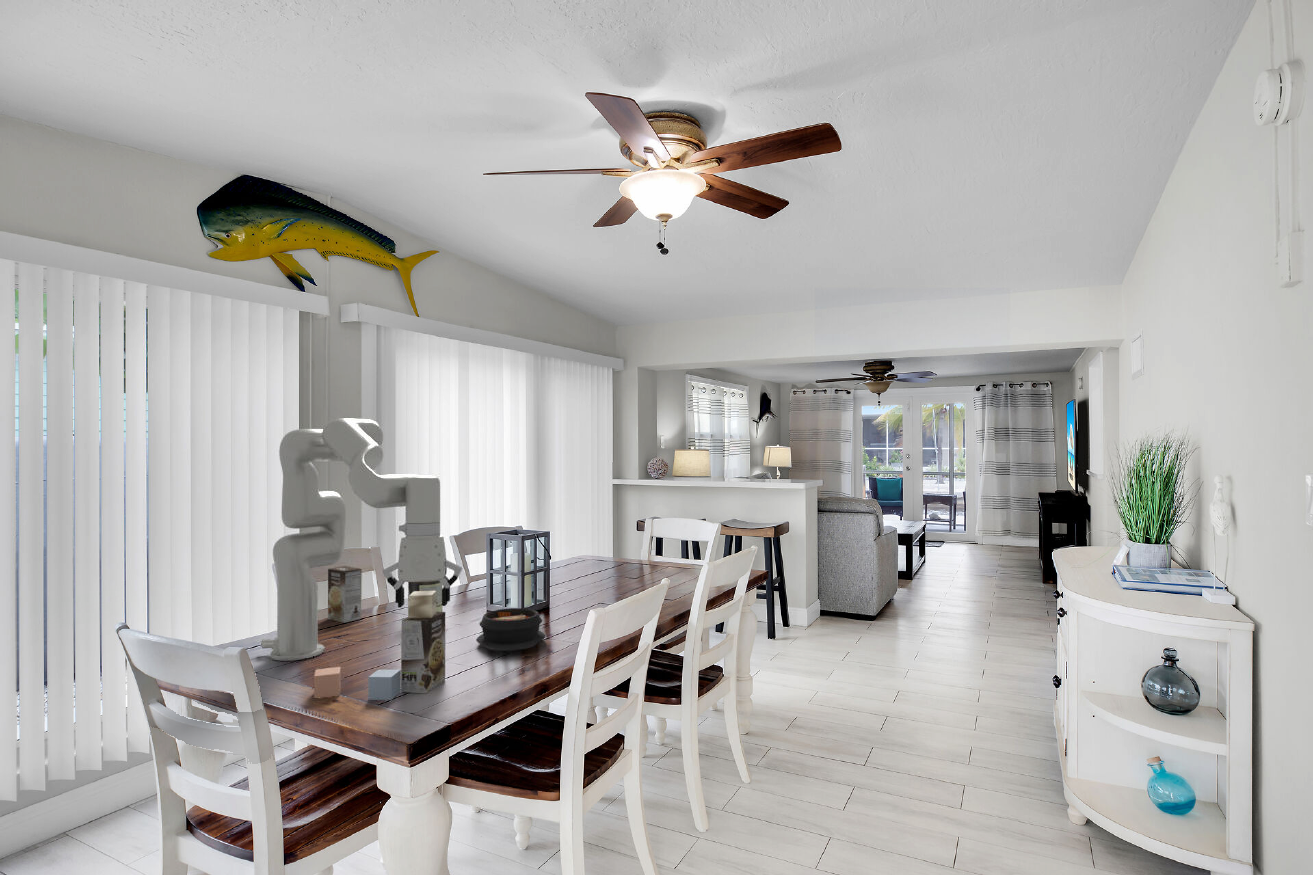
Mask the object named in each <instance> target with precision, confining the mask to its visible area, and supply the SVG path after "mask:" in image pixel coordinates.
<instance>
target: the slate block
mask: <svg viewBox="0 0 1313 875" xmlns="http://www.w3.org/2000/svg"><path fill="white" fill-rule="evenodd" d="M367 684H368V687H367V688H368V689H367V690H368V700H369V701H392V700H394V699H395V698H396V697H397V696H398V695H399V694H400V693H401V669H377V670H376V671H375V672H373V673H372V674H371V675H369V676H368V683H367Z"/></svg>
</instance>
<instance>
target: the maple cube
mask: <svg viewBox="0 0 1313 875" xmlns="http://www.w3.org/2000/svg"><path fill="white" fill-rule="evenodd" d="M435 613H436V591H414V592H413V593H411V594H410V595H409V618H432V617H433V616H434V614H435Z"/></svg>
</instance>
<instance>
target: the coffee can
mask: <svg viewBox="0 0 1313 875" xmlns="http://www.w3.org/2000/svg"><path fill="white" fill-rule="evenodd" d="M407 583H408V584H407V588H408V589H407V593H408V594H407V603H408V604H407V607H408V608H407V611H408V612H407V617H409V595H410V594H411V593H413V592H414V591H436V612H443V606H442V589H443V585H442V584H441V583H440V581H439V580H438V581H423V582H407Z"/></svg>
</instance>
